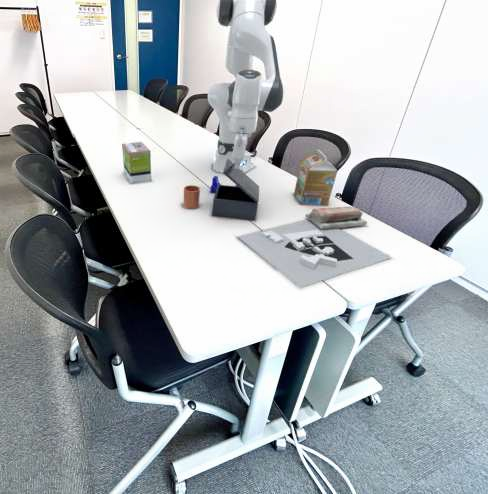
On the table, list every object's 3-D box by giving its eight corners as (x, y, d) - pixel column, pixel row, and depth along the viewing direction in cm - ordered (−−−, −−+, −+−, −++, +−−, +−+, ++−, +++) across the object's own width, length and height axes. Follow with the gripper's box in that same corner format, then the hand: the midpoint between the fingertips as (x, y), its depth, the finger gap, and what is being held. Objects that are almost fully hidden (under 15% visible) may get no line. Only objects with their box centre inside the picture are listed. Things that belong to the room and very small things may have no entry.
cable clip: (210, 192, 143) (211, 179, 140) (213, 189, 147) (214, 175, 144) (238, 197, 139) (239, 183, 136) (240, 193, 142) (242, 180, 139)
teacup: (191, 200, 136) (191, 184, 132) (202, 205, 132) (203, 188, 128) (180, 205, 133) (180, 188, 129) (191, 210, 129) (191, 192, 125)
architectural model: (317, 218, 123) (319, 212, 122) (390, 258, 100) (393, 252, 99) (237, 237, 111) (238, 232, 110) (300, 288, 89) (301, 281, 88)
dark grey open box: (212, 216, 125) (213, 199, 121) (216, 200, 137) (217, 184, 133) (255, 220, 121) (257, 203, 118) (255, 204, 133) (258, 188, 130)
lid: (222, 172, 115) (232, 163, 113) (226, 159, 127) (235, 150, 125) (257, 203, 118) (267, 194, 115) (257, 187, 130) (266, 179, 127)
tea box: (123, 173, 164) (121, 142, 156) (143, 171, 167) (142, 141, 159) (130, 184, 152) (128, 151, 144) (151, 181, 155) (151, 149, 147)
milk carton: (293, 193, 142) (303, 148, 132) (319, 194, 141) (331, 149, 131) (300, 204, 133) (311, 157, 123) (327, 205, 132) (341, 157, 122)
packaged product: (325, 217, 111) (307, 205, 120) (321, 230, 114) (304, 217, 122) (371, 213, 115) (351, 201, 123) (366, 225, 117) (347, 213, 126)
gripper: (251, 133, 103) (245, 176, 111) (253, 119, 120) (248, 157, 127) (230, 131, 105) (226, 174, 112) (235, 118, 121) (231, 156, 129)
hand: (237, 165), depth 120 cm, fingers closed on lid, 5 cm apart
